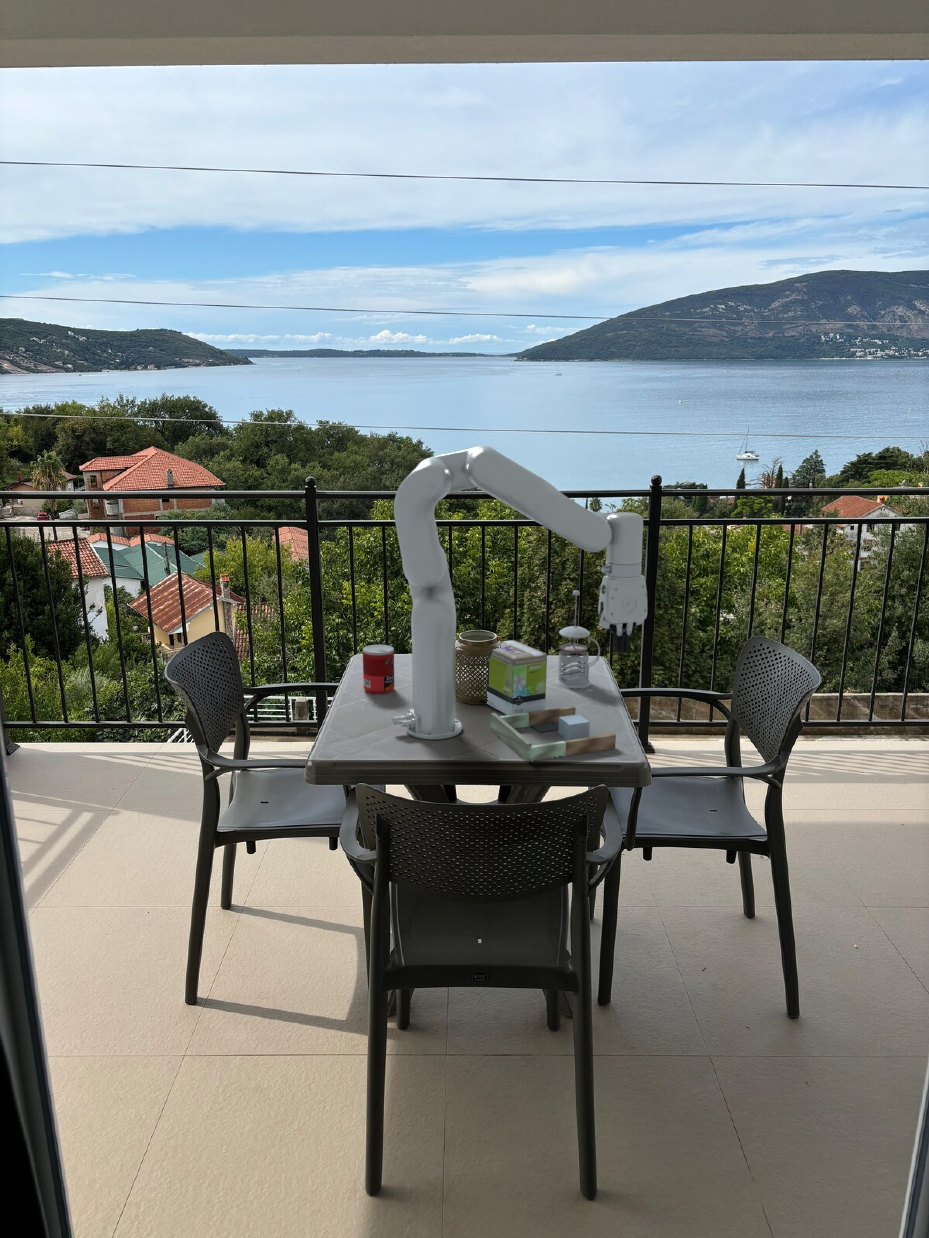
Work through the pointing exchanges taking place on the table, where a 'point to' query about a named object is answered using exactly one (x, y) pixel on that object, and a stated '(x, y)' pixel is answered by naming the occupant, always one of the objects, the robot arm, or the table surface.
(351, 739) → the table surface
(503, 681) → the tea box
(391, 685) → the canned food
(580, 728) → the block
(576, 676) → the french press
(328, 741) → the table surface
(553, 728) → the plate
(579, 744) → the trap lane
